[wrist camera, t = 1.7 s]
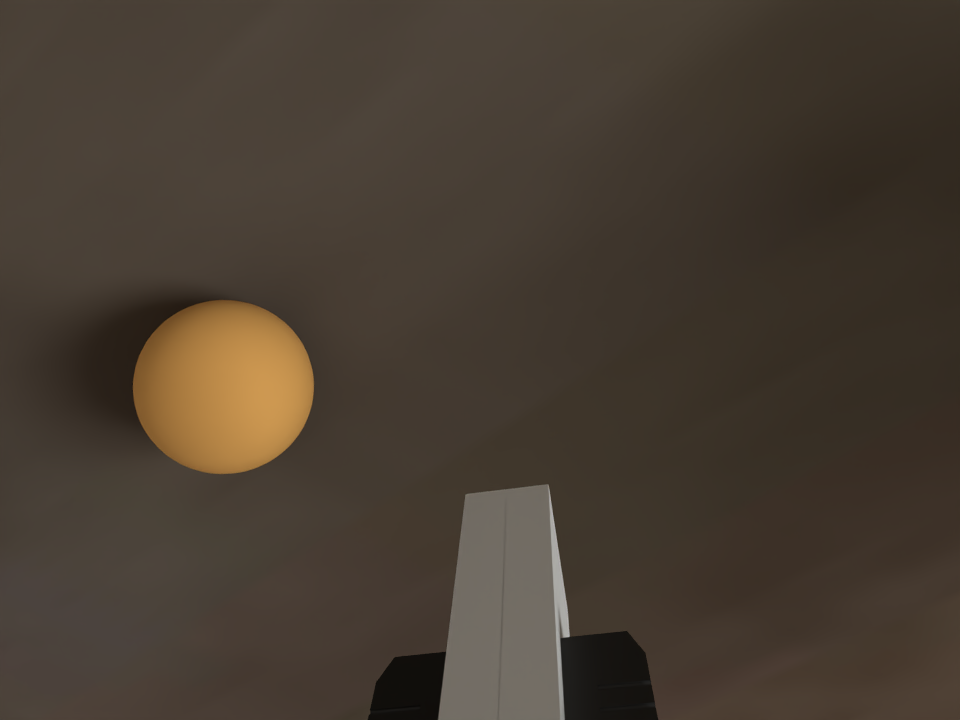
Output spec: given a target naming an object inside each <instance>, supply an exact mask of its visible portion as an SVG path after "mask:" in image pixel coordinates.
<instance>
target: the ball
mask: <svg viewBox="0 0 960 720" xmlns="http://www.w3.org/2000/svg"><path fill="white" fill-rule="evenodd" d="M313 393H314V377H313V371H312V367H311V363H310V360H309V357H308V354H307V352H306V350H305V348H304V346H303V344H302V342H301V341H300V339H299V338H298V336H297V335H296V334H295V333H294V331H293V330H292V329H291V328H290V327H289V326H288V325H287V324H286V323H285V322H284V321H282V320H281V319H280V318H278V317H277V316H276V315H274V314H272V313H271V312H269V311H267V310H265V309H263V308H261V307H259V306H256V305H253V304H250V303H246V302H240V301H234V300H214V301H208V302H203V303H199V304H195V305H193V306H190V307H187V308H185V309H183V310H181V311H179V312H177V313H176V314H174V315H172V316H171V317H170V318H168V319H167V320H166V321H164V322H163V323H162V324H161V325H160V326H159V327H158V328H157V329H156V330H155V331H154V332H153V333H152V335H151V336H150V338H149V339H148V340H147V342H146V343H145V345H144V347H143V349H142V351H141V353H140V355H139V358H138V361H137V364H136V367H135V373H134V379H133V396H134V403H135V408H136V412H137V415H138V418H139V420H140V423H141V425H142V426H143V428H144V430H145V432H146V433H147V435H148V436H149V437H150V439H151V440H152V441H153V442H154V444H155V445H156V446H157V447H158V448H159V449H160V450H161V451H162V452H164V453H165V454H166V455H167V456H169V457H170V458H172V459H173V460H175V461H176V462H178V463H180V464H182V465H184V466H186V467H189V468H191V469H194V470H198V471H201V472H206V473H212V474H230V473H239V472H244V471H248V470H251V469H254V468H257V467H259V466H261V465H264V464H266V463H268V462H270V461H271V460H273V459H274V458H276V457H277V456H279V455H280V454H281V453H282V452H283V451H285V450H286V449H287V448H288V447H289V446H290V445H291V444H292V442H293V441H294V440H295V439H296V438H297V436H298V435H299V433H300V432H301V430H302V428H303V427H304V425H305V423H306V420H307V418H308V416H309V413H310V410H311V406H312V402H313Z"/></svg>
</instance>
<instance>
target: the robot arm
mask: <svg viewBox="0 0 960 720" xmlns="http://www.w3.org/2000/svg"><path fill="white" fill-rule="evenodd" d="M370 711H371V714H370V715H369V717H368V720H658V717H657V712H656V708H655V701H654V696H653V691H652V685H651V680H650V675H649V670H648V664H647V659H646V654H645V652H644V651H643V650H642V648H641V647H640V646H639V645H638V644H637V643H636V641H635V640H634V639H633V638H632V637H631V635H630V634H629V633H628V632H627V631H623V632H614V633H604V634H594V635H584V636H574V637H570V636H569V622H568V610H567V603H566V596H565V590H564V583H563V577H562V570H561V564H560V557H559V551H558V544H557V537H556V531H555V524H554V518H553V511H552V505H551V498H550V492H549V485H548V484H547V485H538V486H530V487H522V488H513V489H505V490H497V491H488V492H480V493H472V494H466V495H465V503H464V512H463V520H462V528H461V536H460V544H459V553H458V561H457V569H456V577H455V585H454V593H453V602H452V610H451V618H450V626H449V634H448V643H447V651H446V652H440V653H430V654H420V655H411V656H401V657H395V658H394V659H393V660H392V662H391V663H390V664H389V666H388V667H387V668H386V670H385V671H384V672H383V674H382V675H381V677H380V678H379V679H378V681H377V682H376V686H375V690H374V695H373V699H372V704H371V708H370Z"/></svg>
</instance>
